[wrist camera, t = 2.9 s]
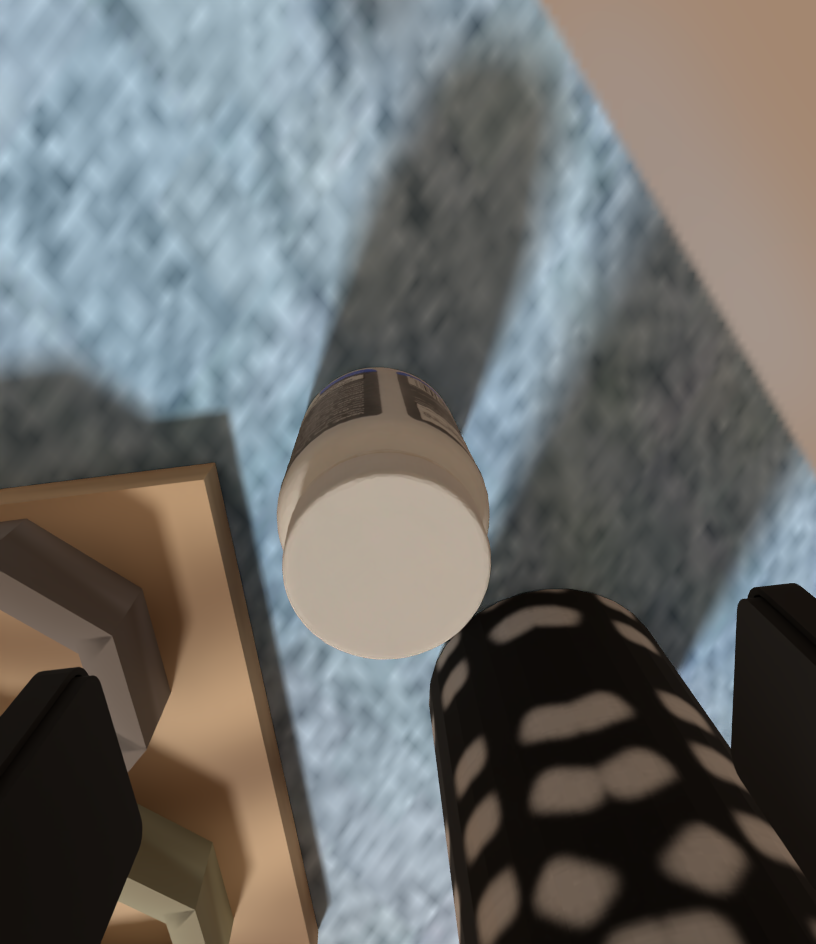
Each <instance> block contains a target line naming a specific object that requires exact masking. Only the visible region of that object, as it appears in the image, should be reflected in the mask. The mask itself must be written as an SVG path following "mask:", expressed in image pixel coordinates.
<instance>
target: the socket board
mask: <svg viewBox="0 0 816 944" xmlns="http://www.w3.org/2000/svg"><path fill="white" fill-rule="evenodd" d="M73 667H81V668H84V669H85V670H86V672H87V673H88V675H89V676H91V675H94V676H97V678H98V679H99V680H100V683H101V685H102V688H103V692H104V695H105V698H106V702H107V705H108V708H109V712H110V715H111V718H112V722H113V725H114V728H115V732H116V735H117V738H118V742H119V745H120V749H121V752H122V755H123V759H124V762H125V765H126V769H127V772H128V775H129V779H130V782H131V785H132V789H133V792H134V795H135V799H136V802H137V805H138V809H139V812H140V815H141V819H142V829H143V830H142V840H141V845H140V848H139V851H138V853H137V856H136V858H135V860H134V863H133V865H132V868H131V870H130V873H129V875H128V878H127V880H126V882H125V885H124V887H123V890H122V892H121V895H120V897H119V900H118V902H117V905H116V907H115V909H114V912H113V914H112V917H111V919H110V922H109V924H108V927H107V929H106V931H105V934H104V936H103V939H102V941H101V944H317V942H318V928H317V923H316V919H315V914H314V909H313V905H312V900H311V896H310V891H309V887H308V882H307V878H306V873H305V869H304V864H303V860H302V855H301V850H300V846H299V841H298V837H297V832H296V828H295V823H294V819H293V814H292V810H291V805H290V800H289V796H288V791H287V787H286V782H285V778H284V773H283V769H282V764H281V760H280V755H279V750H278V746H277V741H276V737H275V732H274V728H273V723H272V719H271V714H270V710H269V705H268V701H267V696H266V691H265V687H264V682H263V678H262V673H261V669H260V664H259V660H258V655H257V651H256V646H255V641H254V637H253V632H252V628H251V623H250V619H249V614H248V610H247V605H246V601H245V596H244V592H243V587H242V582H241V578H240V573H239V569H238V564H237V560H236V555H235V551H234V546H233V542H232V537H231V532H230V528H229V523H228V519H227V514H226V510H225V505H224V501H223V496H222V492H221V487H220V482H219V478H218V473H217V469H216V464H215V463H207V464H199V465H191V466H183V467H175V468H167V469H159V470H151V471H142V472H134V473H126V474H118V475H110V476H102V477H94V478H86V479H78V480H70V481H61V482H53V483H45V484H37V485H29V486H21V487H13V488H5V489H0V716H1V715H2V714H3V713H4V711H5V710H6V709H7V708H8V707H9V705H10V704H11V703H12V702H13V700H14V699H15V698H16V697H17V696H18V694H19V693H20V692H21V691H22V689H23V688H24V687H25V686H26V685H27V683H28V682H29V681H30V680H31V679H32V677H33V676H34V675H35V674H37V673H38V672H41V671H47V670H56V669H64V668H73Z"/></svg>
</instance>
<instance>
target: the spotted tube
mask: <svg viewBox="0 0 816 944" xmlns="http://www.w3.org/2000/svg"><path fill="white" fill-rule="evenodd" d="M429 707H430V715H431V722H432V730H433V738H434V746H435V754H436V762H437V770H438V778H439V786H440V794H441V801H442V809H443V817H444V825H445V833H446V841H447V849H448V857H449V865H450V873H451V880H452V888H453V896H454V904H455V912H456V920H457V928H458V936H459V944H816V892H815V890H814V889H813V887H812V886H811V884H810V883H809V881H808V880H807V878H806V877H805V875H804V874H803V872H802V871H801V869H800V868H799V866H798V865H797V863H796V862H795V860H794V859H793V857H792V856H791V854H790V853H789V851H788V850H787V848H786V847H785V845H784V844H783V842H782V841H781V839H780V838H779V837H778V835H777V834H776V832H775V831H774V829H773V828H772V826H771V825H770V823H769V822H768V820H767V819H766V817H765V816H764V814H763V813H762V811H761V810H760V808H759V807H758V805H757V804H756V802H755V801H754V799H753V798H752V796H751V795H750V793H749V792H748V790H747V789H746V787H745V786H744V784H743V783H742V781H741V780H740V778H739V776H738V775H737V773H736V770H735V768H734V764H733V761H732V755H731V748H730V747H729V745H728V744H727V742H726V741H725V740H724V738H723V737H722V735H721V734H720V732H719V731H718V730H717V728H716V727H715V725H714V724H713V722H712V721H711V719H710V718H709V717H708V715H707V714H706V712H705V711H704V709H703V708H702V707H701V705H700V704H699V702H698V701H697V699H696V698H695V697H694V695H693V694H692V692H691V691H690V689H689V688H688V687H687V685H686V684H685V682H684V681H683V679H682V678H681V677H680V675H679V674H678V672H677V671H676V669H675V668H674V666H673V665H672V664H671V662H670V661H669V659H668V658H667V656H666V655H665V654H664V652H663V651H662V649H661V648H660V646H659V645H658V644H657V642H656V641H655V639H654V638H653V636H652V635H651V634H650V632H649V631H648V629H647V628H646V627H645V626H644V625H643V624H642V623H641V622H640V621H639V620H638V619H637V617H636V616H635V615H634V614H633V613H631V612H630V611H628V610H627V609H625V608H624V607H622V606H621V605H619V604H618V603H616V602H614V601H612V600H609V599H607V598H604V597H602V596H599V595H597V594H594V593H589V592H583V591H578V590H572V589H545V590H539V591H534V592H528V593H522V594H520V595H517V596H514V597H511V598H508V599H506V600H503V601H500V602H498V603H496V604H494V605H493V606H491V607H489V608H487V609H486V610H484V611H482V612H480V613H479V614H477V615H476V616H475V617H474V618H472V619H471V620H470V621H469V622H468V623H467V624H466V625H465V626H464V627H463V628H462V629H461V630H460V631H459V632H458V633H457V634H456V635H454V637H453V638H452V639H451V640H450V642H449V643H448V644H447V645H446V647H445V648H444V650H443V652H442V654H441V656H440V658H439V660H438V661H437V663H436V666H435V669H434V673H433V676H432V680H431V683H430V697H429Z"/></svg>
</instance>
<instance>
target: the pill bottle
mask: <svg viewBox="0 0 816 944" xmlns="http://www.w3.org/2000/svg"><path fill="white" fill-rule="evenodd" d="M277 525H278V533H279V538H280V542H281V545H282V548H283V563H282V571H283V580H284V585H285V589H286V593H287V596H288V598H289V601H290V603H291V605H292V607H293V609H294V611H295V612H296V614H297V616H298V617H299V618H300V620H301V621H302V622H303V623H304V625H305V626H306V627H307V628H308V629H309V630H310V631H311V632H312V633H313V634H314V635H316V636H317V637H318V638H320V639H321V640H322V641H324V642H325V643H327V644H329V645H331V646H332V647H334V648H336V649H338V650H341V651H344V652H346V653H349V654H352V655H356V656H359V657H363V658H370V659H398V658H406V657H410V656H413V655H417V654H420V653H423V652H425V651H428V650H431V649H433V648H435V647H437V646H439V645H441V644H443V643H444V642H446V641H448V640H449V639H450V638H452V637H453V636H454V635H456V634H457V633H458V632H459V631H460V630H461V629H462V628H463V627H464V626H465V625H466V624H467V623H468V622H469V620H470V619H471V618H472V616H473V615H474V614H475V612H476V611H477V609H478V608H479V606H480V604H481V602H482V600H483V598H484V595H485V593H486V590H487V587H488V583H489V578H490V572H491V552H490V544H489V540H488V537H487V534H488V528H489V502H488V493H487V490H486V487H485V483H484V480H483V478H482V475H481V472H480V471H479V469H478V467H477V465H476V464H475V461H474V460H473V458H472V456H471V454H470V452H469V450H468V448H467V445H466V443H465V441H464V440H463V438H462V436H461V434H460V431H459V429H458V427H457V425H456V423H455V421H454V419H453V416H452V414H451V412H450V411H449V409H448V407H447V405H446V404H445V402H444V401H443V399H442V398H441V397H440V395H439V394H438V393H437V392H436V391H435V390H434V389H433V388H432V387H431V386H430V385H428V384H427V383H426V382H424V381H423V380H421V379H420V378H418V377H416V376H414V375H412V374H409V373H406V372H403V371H399V370H395V369H391V368H383V367H373V368H363V369H359V370H355V371H352V372H349V373H347V374H344V375H343V376H341V377H339V378H337V379H335V380H334V381H332V382H331V383H329V384H328V385H327V386H326V387H325V388H324V389H323V390H322V391H321V392H320V393H319V394H318V395H317V396H316V397H315V399H314V400H313V401H312V403H311V404H310V406H309V408H308V410H307V412H306V414H305V416H304V419H303V421H302V424H301V427H300V430H299V434H298V437H297V439H296V442H295V446H294V449H293V452H292V456H291V458H290V462H289V464H288V467H287V471H286V474H285V477H284V479H283V482H282V485H281V489H280V493H279V498H278V507H277Z"/></svg>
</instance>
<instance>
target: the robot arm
mask: <svg viewBox="0 0 816 944" xmlns="http://www.w3.org/2000/svg"><path fill="white" fill-rule="evenodd" d="M731 755H732V761H733V764H734V768H735V770H736V773H737V775H738V776H739V778H740V780H741V781H742V783H743V784H744V786H745V787H746V789H747V790H748V792H749V793H750V795H751V796H752V798H753V799H754V801H755V802H756V804H757V805H758V807H759V808H760V810H761V811H762V813H763V814H764V816H765V817H766V819H767V820H768V822H769V823H770V825H771V826H772V828H773V829H774V831H775V832H776V834H777V835H778V837H779V838H780V839H781V841H782V842H783V844H784V845H785V847H786V848H787V850H788V851H789V853H790V854H791V856H792V857H793V859H794V860H795V862H796V863H797V865H798V866H799V868H800V869H801V871H802V872H803V874H804V875H805V877H806V878H807V880H808V881H809V883H810V884H811V886H812V887H813V889H814V890H815V892H816V598H815V597H813V596H812V595H811V594H810V593H808V592H807V591H806V590H805V589H804V588H802V587H801V586H799V585H798V584H796V583H789V584H780V585H771V586H763V587H754V588H753V589H751V590H750V592H749V594H748V598H747V599H742V600H740V601H739V603H738V607H737V623H736V646H735V669H734V692H733V715H732V738H731ZM142 830H143V829H142V819H141V815H140V812H139V809H138V805H137V802H136V799H135V795H134V792H133V789H132V785H131V782H130V779H129V775H128V772H127V769H126V765H125V762H124V759H123V755H122V752H121V749H120V745H119V742H118V738H117V735H116V732H115V728H114V725H113V722H112V718H111V715H110V712H109V708H108V705H107V702H106V698H105V695H104V692H103V688H102V685H101V683H100V680H99V679H98V678H97V676H94V675H91V676H89V675H88V673H87V672H86V670H85V669H84V668H81V667H73V668H64V669H56V670H47V671H41V672H38V673H37V674H35V675H34V676H33V677H32V679H31V680H30V681H29V682H28V683H27V685H26V686H25V687H24V688H23V689H22V691H21V692H20V693H19V694H18V696H17V697H16V698H15V699H14V700H13V702H12V703H11V704H10V705H9V707H8V708H7V709H6V710H5V711H4V713H3V714H2V715H1V716H0V944H101V941H102V939H103V936H104V934H105V931H106V929H107V927H108V924H109V922H110V919H111V917H112V914H113V912H114V909H115V907H116V905H117V902H118V900H119V897H120V895H121V892H122V890H123V887H124V885H125V882H126V880H127V878H128V875H129V873H130V870H131V868H132V865H133V863H134V860H135V858H136V856H137V853H138V851H139V848H140V845H141V840H142Z"/></svg>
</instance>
